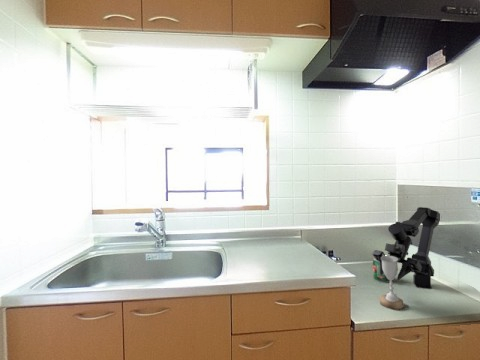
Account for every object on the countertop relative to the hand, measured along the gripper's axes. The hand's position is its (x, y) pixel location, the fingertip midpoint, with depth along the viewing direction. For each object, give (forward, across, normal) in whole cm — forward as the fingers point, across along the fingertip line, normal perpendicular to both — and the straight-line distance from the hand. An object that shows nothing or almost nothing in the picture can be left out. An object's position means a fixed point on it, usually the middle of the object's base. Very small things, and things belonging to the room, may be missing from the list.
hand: (389, 276), depth 115 cm
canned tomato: (-8, -16, +26) cm, 32 cm away
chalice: (+6, 0, +9) cm, 11 cm away
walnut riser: (+8, 0, +10) cm, 13 cm away
